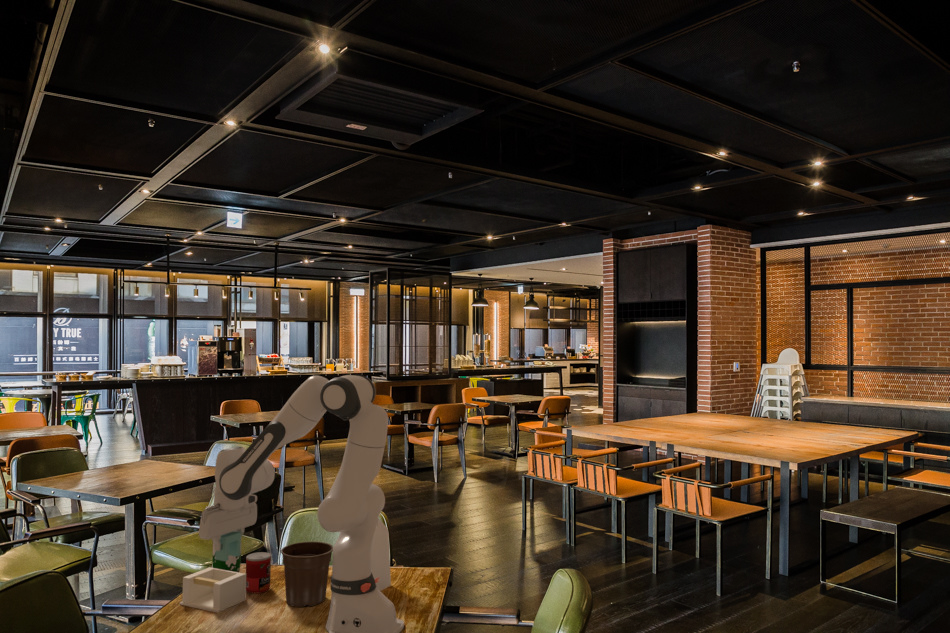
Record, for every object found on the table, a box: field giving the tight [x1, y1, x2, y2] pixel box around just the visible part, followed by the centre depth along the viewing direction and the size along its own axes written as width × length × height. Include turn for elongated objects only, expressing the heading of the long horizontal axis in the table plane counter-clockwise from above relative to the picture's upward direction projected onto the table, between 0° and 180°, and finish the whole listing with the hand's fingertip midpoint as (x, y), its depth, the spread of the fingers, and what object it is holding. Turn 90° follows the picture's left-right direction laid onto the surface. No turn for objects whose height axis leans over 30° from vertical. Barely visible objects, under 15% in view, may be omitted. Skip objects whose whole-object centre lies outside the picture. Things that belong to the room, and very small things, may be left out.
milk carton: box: [211, 531, 242, 573], centre depth 219 cm, size 9×9×20 cm
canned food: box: [245, 551, 272, 594], centre depth 212 cm, size 8×8×11 cm
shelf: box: [179, 566, 247, 614], centre depth 201 cm, size 16×11×8 cm
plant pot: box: [280, 541, 334, 608], centre depth 202 cm, size 16×16×16 cm
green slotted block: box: [215, 531, 242, 561], centre depth 193 cm, size 4×6×7 cm, turn 156°
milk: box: [371, 518, 392, 592], centre depth 214 cm, size 12×12×26 cm
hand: (228, 546), depth 193 cm, fingers closed on green slotted block, 6 cm apart
